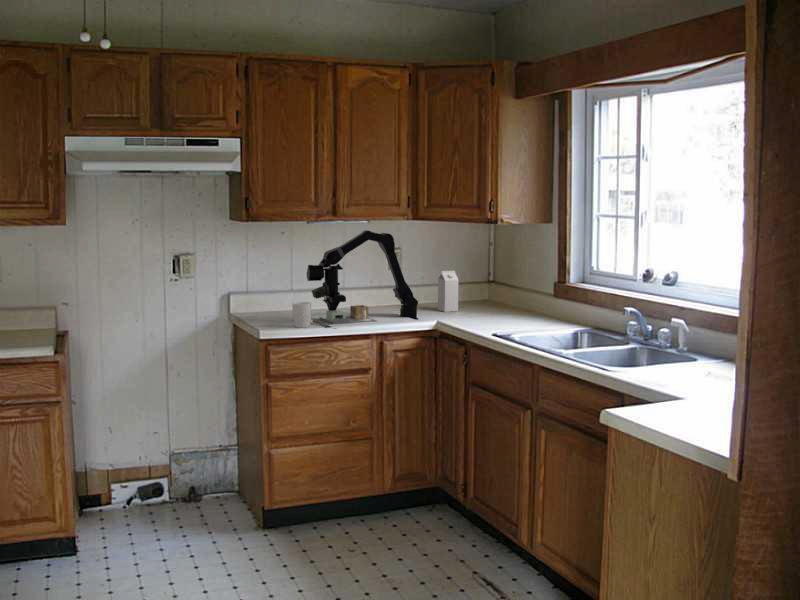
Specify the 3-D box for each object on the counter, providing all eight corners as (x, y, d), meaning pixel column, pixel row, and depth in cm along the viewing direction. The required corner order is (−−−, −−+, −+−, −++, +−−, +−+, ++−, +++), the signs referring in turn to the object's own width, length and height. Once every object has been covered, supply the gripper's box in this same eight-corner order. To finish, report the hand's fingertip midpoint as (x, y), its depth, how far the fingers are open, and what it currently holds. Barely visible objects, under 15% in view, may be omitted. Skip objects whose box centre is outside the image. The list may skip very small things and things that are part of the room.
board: (363, 318, 394) (363, 307, 394) (378, 324, 380) (378, 311, 379) (312, 322, 384) (312, 310, 383) (325, 327, 370) (325, 315, 369)
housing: (339, 319, 382) (339, 310, 382) (345, 321, 376) (345, 312, 376) (326, 320, 380) (326, 310, 379) (332, 322, 374) (332, 313, 373)
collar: (362, 316, 394) (362, 305, 393) (368, 318, 388) (368, 306, 388) (350, 317, 391) (350, 305, 390) (355, 319, 386) (355, 307, 385)
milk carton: (437, 310, 421) (438, 270, 419) (450, 309, 424) (451, 269, 422) (444, 312, 415) (445, 271, 412) (458, 311, 418) (458, 271, 415)
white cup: (302, 324, 378) (301, 301, 377) (315, 326, 373) (315, 302, 372) (288, 326, 372) (288, 303, 371) (301, 328, 367) (301, 304, 366)
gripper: (306, 278, 385) (306, 314, 387) (321, 283, 369) (321, 320, 371) (330, 277, 390) (330, 312, 392) (346, 282, 373) (346, 318, 376)
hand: (331, 316), depth 383 cm, fingers closed
